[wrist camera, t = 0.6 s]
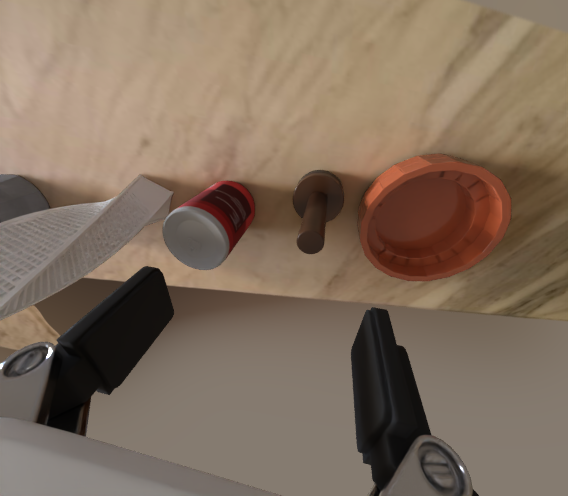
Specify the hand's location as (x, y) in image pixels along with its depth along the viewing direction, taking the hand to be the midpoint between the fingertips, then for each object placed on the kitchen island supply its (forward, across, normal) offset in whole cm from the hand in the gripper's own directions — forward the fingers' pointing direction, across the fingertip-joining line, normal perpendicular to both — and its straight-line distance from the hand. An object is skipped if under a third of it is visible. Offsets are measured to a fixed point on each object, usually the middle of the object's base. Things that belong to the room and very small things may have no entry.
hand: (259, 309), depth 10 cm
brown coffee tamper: (+23, -2, +2) cm, 23 cm away
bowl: (+23, -14, +3) cm, 27 cm away
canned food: (+23, +11, +5) cm, 26 cm away
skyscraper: (+23, +24, +6) cm, 34 cm away
